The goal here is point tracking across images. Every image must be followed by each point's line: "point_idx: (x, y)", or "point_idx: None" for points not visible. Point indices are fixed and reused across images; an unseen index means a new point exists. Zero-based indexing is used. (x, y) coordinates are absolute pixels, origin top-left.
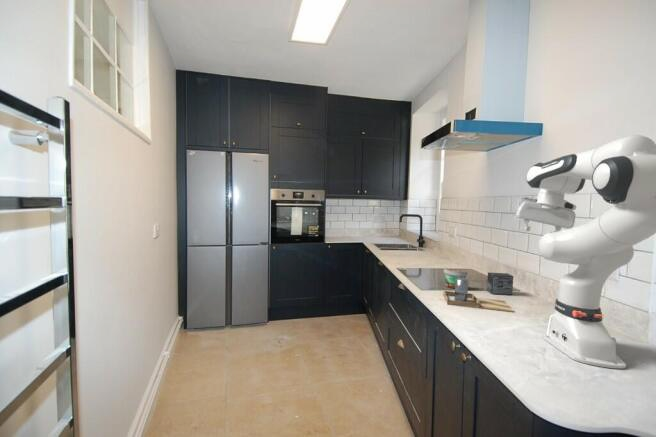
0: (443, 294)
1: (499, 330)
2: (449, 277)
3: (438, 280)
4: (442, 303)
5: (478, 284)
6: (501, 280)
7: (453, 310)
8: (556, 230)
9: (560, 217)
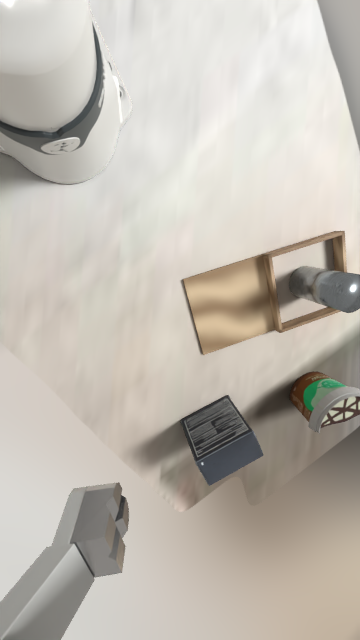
0: None
1: (228, 101)
2: (346, 386)
3: None
4: None
5: None
6: (222, 432)
7: (323, 192)
8: (43, 606)
9: None
